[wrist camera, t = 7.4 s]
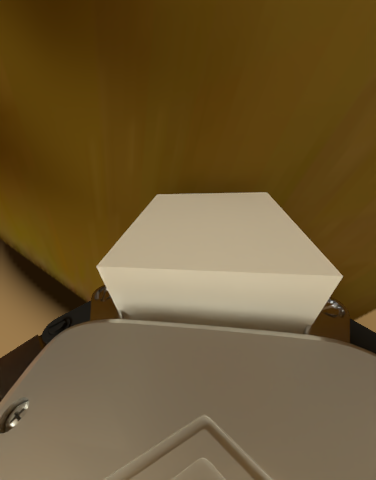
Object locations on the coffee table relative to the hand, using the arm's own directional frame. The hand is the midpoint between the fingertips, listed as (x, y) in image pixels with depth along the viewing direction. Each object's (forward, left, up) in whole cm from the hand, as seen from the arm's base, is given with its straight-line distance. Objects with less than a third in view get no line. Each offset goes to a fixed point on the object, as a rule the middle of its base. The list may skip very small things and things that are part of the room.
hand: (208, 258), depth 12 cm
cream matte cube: (0, 0, -3) cm, 3 cm away
